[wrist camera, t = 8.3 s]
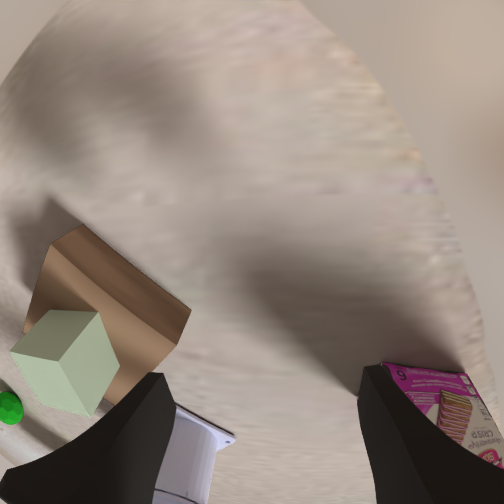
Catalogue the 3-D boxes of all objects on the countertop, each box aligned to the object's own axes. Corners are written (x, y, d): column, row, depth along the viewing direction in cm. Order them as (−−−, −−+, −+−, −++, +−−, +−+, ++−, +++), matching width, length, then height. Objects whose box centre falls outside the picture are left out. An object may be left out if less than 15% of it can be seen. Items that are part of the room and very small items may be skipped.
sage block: (120, 366, 19) (91, 418, 14) (72, 360, 19) (40, 404, 15) (98, 311, 17) (58, 361, 13) (49, 309, 18) (9, 351, 13)
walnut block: (133, 376, 25) (117, 407, 21) (47, 308, 23) (22, 332, 19) (191, 310, 21) (176, 345, 18) (83, 224, 19) (50, 244, 16)
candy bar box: (468, 369, 23) (535, 500, 7) (441, 404, 24) (489, 532, 9) (380, 357, 22) (438, 546, 7) (353, 397, 24) (382, 568, 9)
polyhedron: (21, 392, 29) (4, 414, 25) (33, 414, 31) (19, 435, 27) (-1, 380, 30) (-17, 400, 25) (11, 402, 31) (-3, 422, 27)
